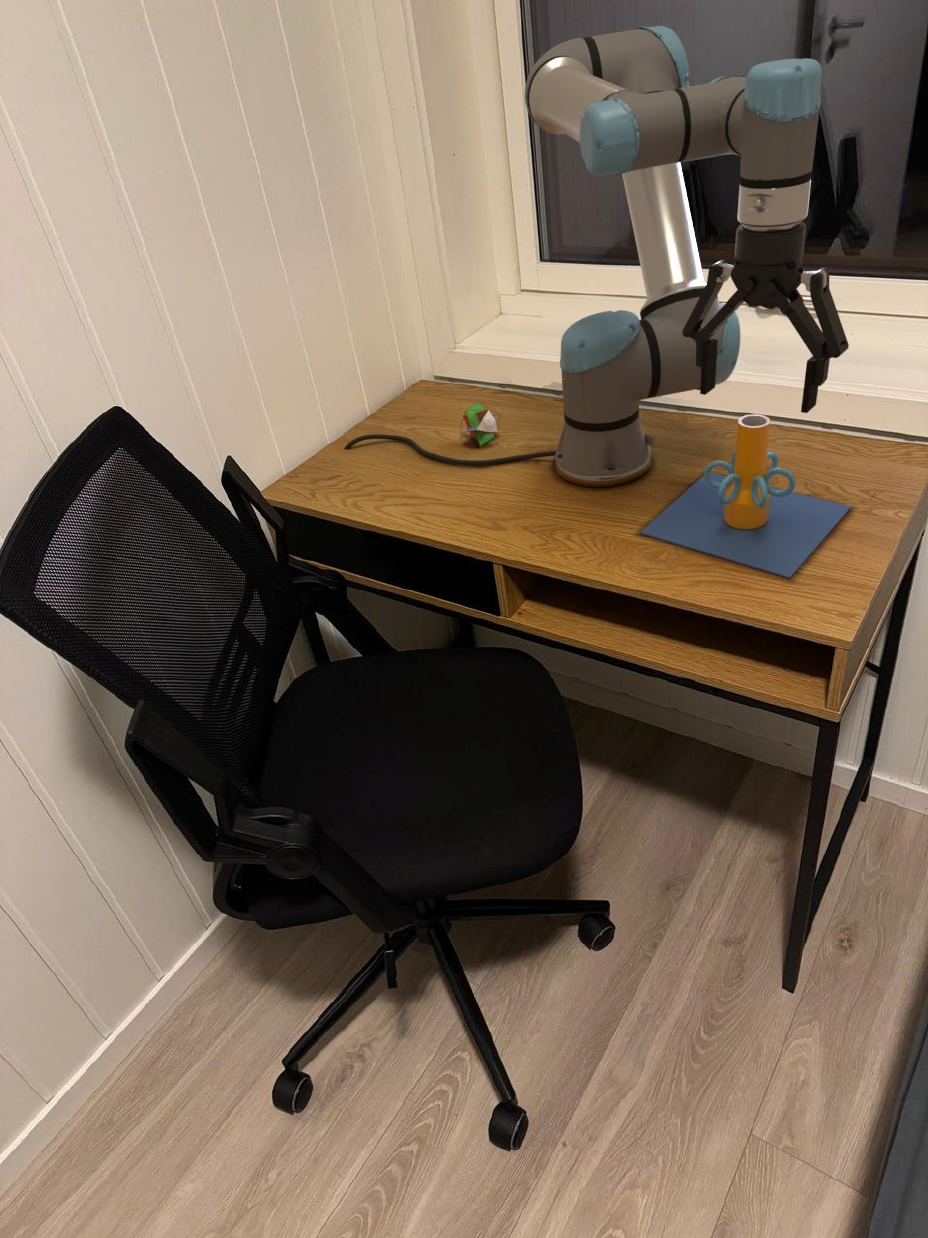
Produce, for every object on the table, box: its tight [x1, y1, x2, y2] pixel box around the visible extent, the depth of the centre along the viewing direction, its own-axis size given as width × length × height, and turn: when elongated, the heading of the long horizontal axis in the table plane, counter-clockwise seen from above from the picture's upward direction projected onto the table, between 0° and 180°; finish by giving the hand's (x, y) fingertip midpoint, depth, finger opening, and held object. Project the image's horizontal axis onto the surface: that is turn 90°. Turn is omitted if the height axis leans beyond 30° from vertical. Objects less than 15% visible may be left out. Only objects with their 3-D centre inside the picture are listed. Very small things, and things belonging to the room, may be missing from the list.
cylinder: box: [703, 413, 797, 530], centre depth 116 cm, size 12×10×15 cm
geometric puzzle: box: [459, 400, 501, 447], centre depth 150 cm, size 7×7×8 cm
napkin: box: [639, 472, 852, 580], centre depth 121 cm, size 22×20×1 cm
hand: (756, 399), depth 110 cm, fingers open, 13 cm apart
